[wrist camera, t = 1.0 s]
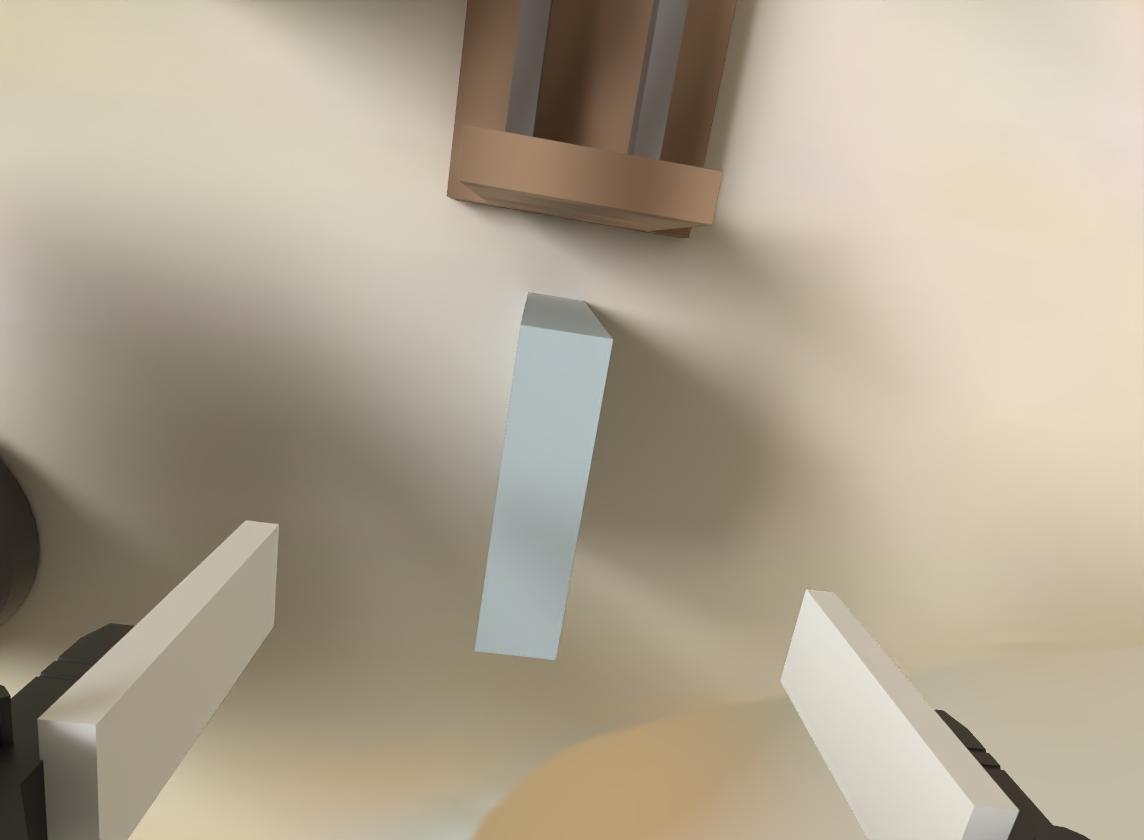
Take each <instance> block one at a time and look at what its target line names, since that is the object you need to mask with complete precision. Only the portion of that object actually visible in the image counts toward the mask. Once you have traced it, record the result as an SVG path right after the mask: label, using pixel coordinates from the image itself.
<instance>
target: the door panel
mask: <svg viewBox="0 0 1144 840" xmlns="http://www.w3.org/2000/svg"><path fill="white" fill-rule="evenodd" d="M612 343H613V338H612V337H611V336H610V334H609V333H608V332H607V330H606V329H605V328H604V327H603V325H602V324H601V323H600V321H599V320H598V319H597V317H596V316H595V315H594V313H593V312H592V311H591V309H590V308H589V307H588V305H587V304H586V303H585V301H579V300H573V299H567V298H561V297H555V296H548V295H542V294H536V293H530V292H528V295H527V300H526V304H525V308H524V312H523V317H522V321H521V326H520V333H519V340H518V347H517V354H516V361H515V368H514V375H513V382H512V389H511V396H510V403H509V410H508V417H507V424H506V431H505V439H504V446H503V453H502V460H501V467H500V474H499V481H498V488H497V495H496V502H495V509H494V516H493V523H492V530H491V537H490V544H489V551H488V558H487V565H486V573H485V580H484V587H483V594H482V601H481V608H480V615H479V622H478V629H477V636H476V643H475V650H474V651H477V652H486V653H495V654H504V655H513V656H522V657H531V658H540V659H549V660H556V656H557V650H558V645H559V639H560V633H561V628H562V622H563V617H564V611H565V606H566V600H567V594H568V589H569V583H570V578H571V572H572V566H573V561H574V555H575V550H576V544H577V539H578V533H579V527H580V522H581V516H582V511H583V505H584V500H585V494H586V488H587V483H588V477H589V472H590V466H591V460H592V455H593V449H594V444H595V438H596V433H597V427H598V421H599V416H600V410H601V405H602V399H603V394H604V388H605V382H606V377H607V371H608V366H609V360H610V354H611V349H612Z"/></svg>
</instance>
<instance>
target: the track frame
mask: <svg viewBox="0 0 1144 840" xmlns="http://www.w3.org/2000/svg"><path fill="white" fill-rule="evenodd" d="M736 1H737V0H468V3H467V12H466V22H465V31H464V40H463V49H462V59H461V68H460V77H459V87H458V96H457V105H456V115H455V124H454V133H453V143H452V152H451V161H450V171H449V180H448V189H447V196H448V197H450V198H453V199H459V200H464V201H470V202H476V203H482V204H488V205H493V206H499V207H505V208H511V209H517V210H522V211H528V212H534V213H540V214H546V215H551V216H557V217H563V218H569V219H575V220H580V221H586V222H592V223H598V224H604V225H609V226H615V227H621V228H627V229H633V230H638V231H644V232H650V233H656V234H662V235H668V236H673V237H679V238H689V235H690V230H691V227H696V226H706V225H712V222H713V218H714V213H715V208H716V203H717V198H718V194H719V189H720V184H721V179H722V175H723V172H722V171H717V170H711V169H706V168H703V165H704V161H705V156H706V151H707V146H708V141H709V136H710V131H711V126H712V121H713V116H714V111H715V106H716V101H717V96H718V91H719V86H720V81H721V76H722V71H723V66H724V61H725V56H726V51H727V46H728V41H729V36H730V31H731V26H732V21H733V16H734V11H735V6H736Z"/></svg>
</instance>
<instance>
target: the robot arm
mask: <svg viewBox="0 0 1144 840" xmlns="http://www.w3.org/2000/svg"><path fill="white" fill-rule="evenodd" d="M278 538H279V524H273V523H265V522H257V521H248V520H246V521H245V522H243V523H242V524H241V525H240V526H239V527H238V528H237V529H236V530H235V531H234V532H233V533H232V534H231V535H230V536H229V537H228V538H227V539H226V540H225V541H224V542H222V543H221V544H220V545H219V546H218V547H217V548H216V549H215V550H214V551H213V552H212V553H211V554H210V555H209V556H208V557H207V558H206V559H205V560H204V561H203V562H202V563H200V564H199V565H198V566H197V567H196V568H195V569H194V570H193V571H192V572H191V573H190V574H189V575H188V576H187V577H186V578H185V579H184V580H183V581H182V582H181V583H180V584H178V585H177V586H176V587H175V588H174V589H173V590H172V591H171V592H170V593H169V594H168V595H167V596H166V597H165V598H164V599H163V600H162V601H161V602H160V603H159V604H158V605H156V606H155V607H154V608H153V609H152V610H151V611H150V612H149V613H148V614H147V615H146V616H145V617H144V618H143V619H142V620H141V621H140V622H139V623H138V624H137V625H136V626H130V625H121V624H109V625H106V626H104V627H102V628H100V629H98V630H96V631H94V632H92V633H90V634H88V635H86V636H84V637H82V638H80V639H79V640H78V641H77V642H76V643H75V644H73V645H72V646H71V647H70V648H69V649H68V650H67V651H65V652H64V653H63V654H62V655H61V656H60V657H59V659H58V661H54V662H53V663H52V664H50V665H49V666H48V667H47V668H46V669H45V670H43V671H42V672H41V675H40V677H35V678H34V679H33V680H32V681H31V682H30V683H28V684H27V685H26V686H25V687H24V688H23V689H22V690H20V691H19V692H18V693H17V694H16V695H15V696H14V697H12V698H11V697H10V694H9V693H8V691H7V690H6V688H5V687H4V686H2V685H0V840H128V838H129V837H130V835H131V834H132V832H133V831H134V829H135V828H136V826H137V825H138V823H139V822H140V821H141V819H142V818H143V816H144V815H145V813H146V812H147V810H148V809H149V807H150V806H151V805H152V803H153V802H154V800H155V799H156V797H157V796H158V794H159V793H160V791H161V790H162V788H163V787H164V786H165V784H166V783H167V781H168V780H169V778H170V777H171V775H172V774H173V772H174V771H175V770H176V768H177V767H178V765H179V764H180V762H181V761H182V759H183V758H184V756H185V755H186V754H187V752H188V751H189V749H190V748H191V746H192V745H193V743H194V742H195V740H196V739H197V737H198V736H199V735H200V733H201V732H202V730H203V729H204V727H205V726H206V724H207V723H208V721H209V720H210V719H211V717H212V716H213V714H214V713H215V711H216V710H217V708H218V707H219V705H220V704H221V702H222V701H223V700H224V698H225V697H226V695H227V694H228V692H229V691H230V689H231V688H232V686H233V685H234V684H235V682H236V681H237V679H238V678H239V676H240V675H241V673H242V672H243V670H244V669H245V668H246V666H247V665H248V663H249V662H250V660H251V659H252V657H253V656H254V654H255V653H256V651H257V650H258V649H259V647H260V646H261V644H262V643H263V641H264V640H265V638H266V637H267V635H268V634H269V633H270V631H271V630H272V628H273V627H274V619H275V598H276V578H277V558H278ZM37 563H38V539H37V532H36V526H35V523H34V519H33V516H32V513H31V510H30V507H29V505H28V503H27V500H26V498H25V496H24V494H23V492H22V490H21V489H20V487H19V485H18V484H17V482H16V480H15V479H14V478H13V476H12V475H11V473H10V472H9V471H8V469H7V468H6V467H5V466H4V464H3V463H2V462H1V461H0V625H1V624H3V623H4V622H5V621H6V620H8V619H9V618H10V617H11V616H12V615H13V614H14V613H15V612H16V610H17V609H18V608H19V607H20V605H21V604H22V603H23V601H24V599H25V598H26V596H27V594H28V592H29V590H30V588H31V586H32V583H33V580H34V577H35V573H36V569H37ZM780 681H781V683H782V685H783V687H784V689H785V690H786V692H787V694H788V696H789V698H790V699H791V701H792V703H793V705H794V707H795V708H796V710H797V712H798V714H799V716H800V717H801V719H802V721H803V723H804V725H805V727H806V728H807V730H808V732H809V734H810V735H811V737H812V739H813V741H814V742H815V745H816V746H817V748H818V750H819V752H820V754H821V755H822V757H823V759H824V761H825V763H826V765H827V766H828V768H829V770H830V772H831V773H832V775H833V777H834V779H835V780H836V783H837V784H838V786H839V788H840V789H841V792H842V793H843V795H844V797H845V799H846V801H847V802H848V804H849V806H850V808H851V810H852V812H853V813H854V815H855V817H856V819H857V821H858V822H859V824H860V826H861V828H862V830H863V831H864V833H865V835H866V837H867V839H868V840H1090V839H1088V838H1087V837H1085V836H1083V835H1081V834H1079V833H1077V832H1074V831H1072V830H1069V829H1067V828H1064V827H1059V826H1053V825H1052V824H1051V823H1050V822H1049V820H1048V819H1047V818H1046V817H1045V816H1044V815H1043V814H1042V813H1041V811H1040V810H1039V809H1038V808H1037V807H1036V806H1035V805H1034V803H1033V802H1032V801H1031V800H1030V799H1029V798H1028V797H1027V796H1026V794H1025V793H1024V792H1023V791H1022V790H1021V789H1020V788H1019V786H1018V785H1017V784H1016V783H1015V782H1014V781H1013V780H1012V779H1011V778H1010V776H1009V775H1008V774H1007V773H1006V772H1005V771H1004V770H1001V769H1000V765H999V764H998V763H997V762H996V760H995V759H994V758H993V757H992V756H991V755H990V754H989V753H986V750H985V748H984V747H983V746H982V745H981V743H980V742H979V741H978V740H977V739H976V738H975V737H974V736H973V734H972V733H971V732H970V731H969V730H968V729H967V728H966V727H964V726H963V725H962V724H960V723H959V722H958V721H956V720H955V719H954V718H952V717H951V716H950V715H948V714H947V713H946V712H944V711H942V710H934V709H933V708H932V707H931V706H930V705H929V703H928V702H927V701H926V700H925V699H924V697H923V696H922V695H921V694H920V693H919V692H918V690H917V689H916V688H915V687H914V686H913V684H912V683H911V682H910V681H909V680H908V678H907V677H906V676H905V675H904V674H903V673H902V671H901V670H900V669H899V668H898V667H897V666H896V664H895V663H894V662H893V661H892V660H891V658H890V657H889V656H888V655H887V654H886V653H885V651H884V650H883V649H882V648H881V647H880V645H879V644H878V643H877V642H876V641H875V640H874V638H873V637H872V636H871V635H870V634H869V632H868V631H867V630H866V629H865V628H864V627H863V625H862V624H861V623H860V622H859V621H858V619H857V618H856V617H855V616H854V615H853V614H852V612H851V611H850V610H849V609H848V608H847V607H846V605H845V604H844V603H843V602H842V601H841V599H840V598H839V597H838V596H837V595H836V594H835V592H827V591H819V590H811V589H806V591H805V595H804V598H803V602H802V605H801V609H800V612H799V616H798V619H797V623H796V627H795V630H794V634H793V637H792V641H791V644H790V648H789V651H788V655H787V658H786V662H785V665H784V669H783V673H782V676H781V680H780Z"/></svg>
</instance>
